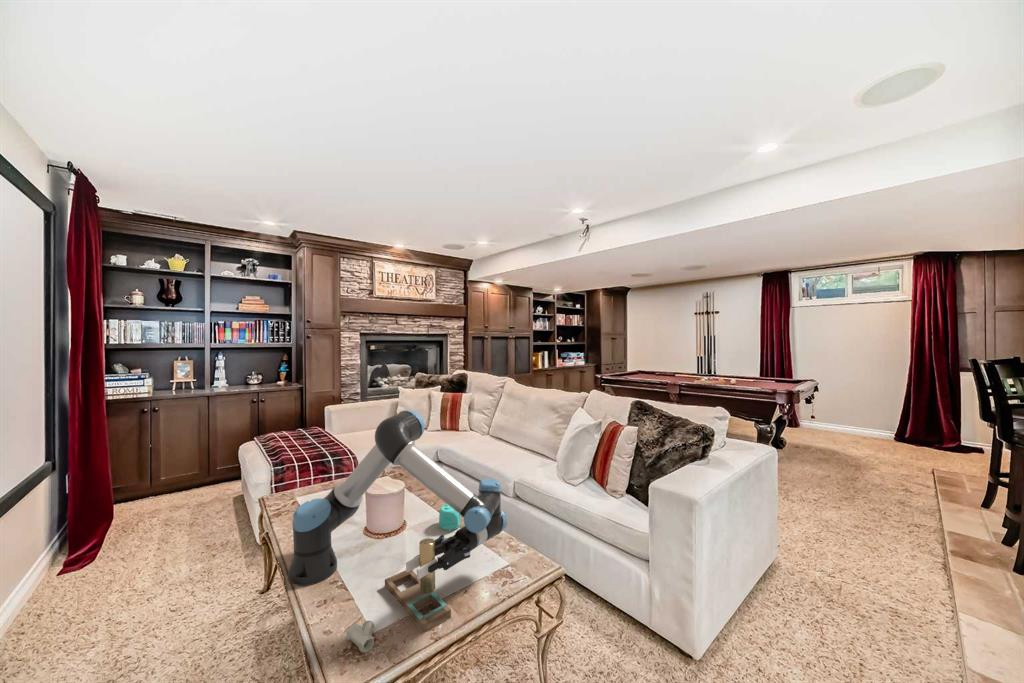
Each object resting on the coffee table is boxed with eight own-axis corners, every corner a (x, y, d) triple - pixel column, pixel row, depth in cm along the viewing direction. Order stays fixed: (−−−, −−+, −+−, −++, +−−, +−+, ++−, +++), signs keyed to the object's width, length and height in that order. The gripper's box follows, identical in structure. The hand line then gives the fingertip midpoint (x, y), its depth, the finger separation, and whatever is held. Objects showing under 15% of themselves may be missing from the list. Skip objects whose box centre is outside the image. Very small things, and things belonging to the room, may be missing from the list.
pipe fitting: (368, 628, 113) (346, 641, 108) (369, 614, 113) (346, 626, 108) (384, 642, 108) (361, 656, 103) (385, 627, 108) (362, 641, 103)
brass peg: (417, 588, 118) (416, 541, 117) (430, 581, 121) (429, 536, 120) (424, 595, 115) (424, 548, 114) (438, 588, 118) (437, 542, 117)
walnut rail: (384, 586, 130) (384, 578, 130) (410, 575, 136) (410, 567, 136) (423, 633, 111) (423, 623, 111) (450, 617, 117) (450, 608, 116)
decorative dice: (458, 530, 166) (458, 511, 165) (439, 530, 166) (438, 511, 166) (461, 521, 174) (460, 503, 173) (442, 521, 174) (442, 503, 174)
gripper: (490, 557, 126) (432, 596, 108) (452, 539, 137) (394, 572, 119) (489, 534, 126) (431, 569, 108) (452, 517, 137) (394, 547, 119)
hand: (412, 570), depth 113 cm, fingers closed on brass peg, 4 cm apart
